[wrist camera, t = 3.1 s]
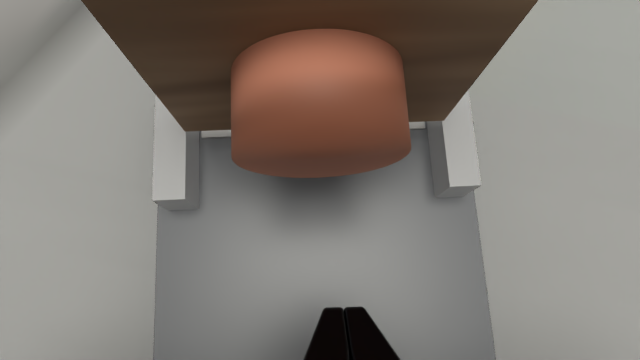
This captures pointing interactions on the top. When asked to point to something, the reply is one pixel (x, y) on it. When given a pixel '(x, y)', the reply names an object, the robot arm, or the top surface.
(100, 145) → the top surface
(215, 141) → the press base
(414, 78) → the press plate
